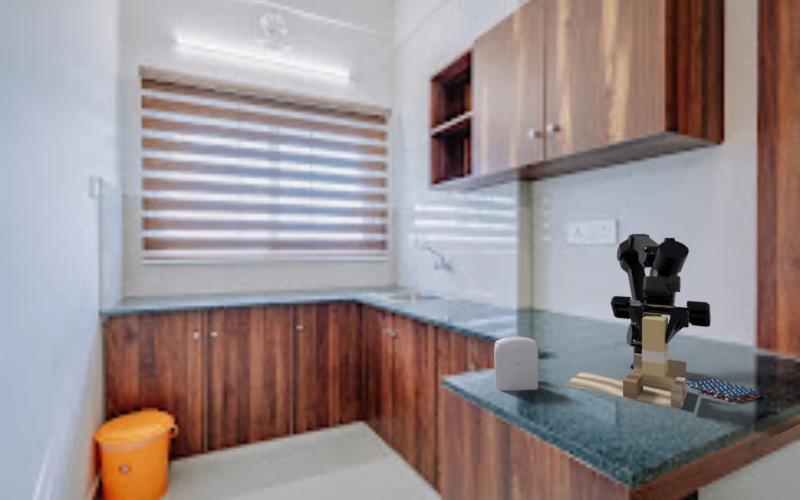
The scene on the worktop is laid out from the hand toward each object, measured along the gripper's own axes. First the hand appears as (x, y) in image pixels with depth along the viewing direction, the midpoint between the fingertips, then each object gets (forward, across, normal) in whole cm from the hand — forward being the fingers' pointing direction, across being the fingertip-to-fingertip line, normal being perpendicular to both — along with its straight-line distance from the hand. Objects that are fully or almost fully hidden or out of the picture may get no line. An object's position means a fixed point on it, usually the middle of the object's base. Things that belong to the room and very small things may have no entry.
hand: (654, 341), depth 87 cm
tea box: (+4, 0, +6) cm, 7 cm away
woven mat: (-2, +11, +21) cm, 24 cm away
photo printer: (+18, -26, 0) cm, 32 cm away
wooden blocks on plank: (+7, -6, +12) cm, 15 cm away
